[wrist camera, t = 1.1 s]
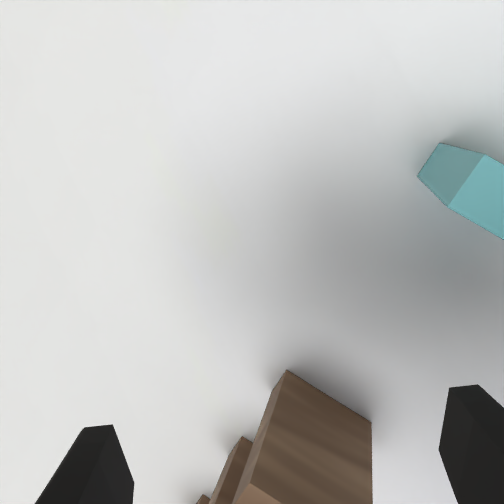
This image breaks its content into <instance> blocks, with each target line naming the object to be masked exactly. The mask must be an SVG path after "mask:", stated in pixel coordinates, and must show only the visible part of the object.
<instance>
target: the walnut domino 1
mask: <svg viewBox="0 0 504 504" xmlns="http://www.w3.org/2000/svg"><path fill="white" fill-rule="evenodd" d="M252 446H253V443H252V442H250V441H249V440H247V439H246V438H244V437H243V436H242V437H241V438H240V440H239V441H238V443H237V444H236V446H235V447H234V449H233V450H232V452H231V453H230V455H229V456H228V459H227V461H226V463H225V466H224V468H223V471H222V473H221V475H220V478H219V480H218V483H217V485H216V487H215V490H214V492H213V495H212V497H211V499H210V502H209V504H232V502H233V499H234V496H235V494H236V491H237V488H238V485H239V482H240V479H241V477H242V474H243V471H244V468H245V465H246V463H247V460H248V457H249V454H250V451H251V449H252Z"/></svg>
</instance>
